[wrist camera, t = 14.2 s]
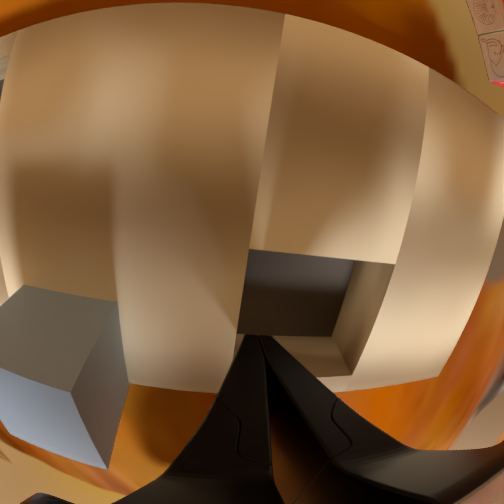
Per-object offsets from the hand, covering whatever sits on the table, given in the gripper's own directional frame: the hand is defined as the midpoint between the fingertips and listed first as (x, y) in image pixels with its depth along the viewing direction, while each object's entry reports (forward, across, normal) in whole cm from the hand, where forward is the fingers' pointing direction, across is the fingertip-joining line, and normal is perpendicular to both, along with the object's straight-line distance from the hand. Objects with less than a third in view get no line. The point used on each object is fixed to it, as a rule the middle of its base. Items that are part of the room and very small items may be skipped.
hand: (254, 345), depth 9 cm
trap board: (+4, +5, -4) cm, 7 cm away
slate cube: (0, +6, +1) cm, 7 cm away
